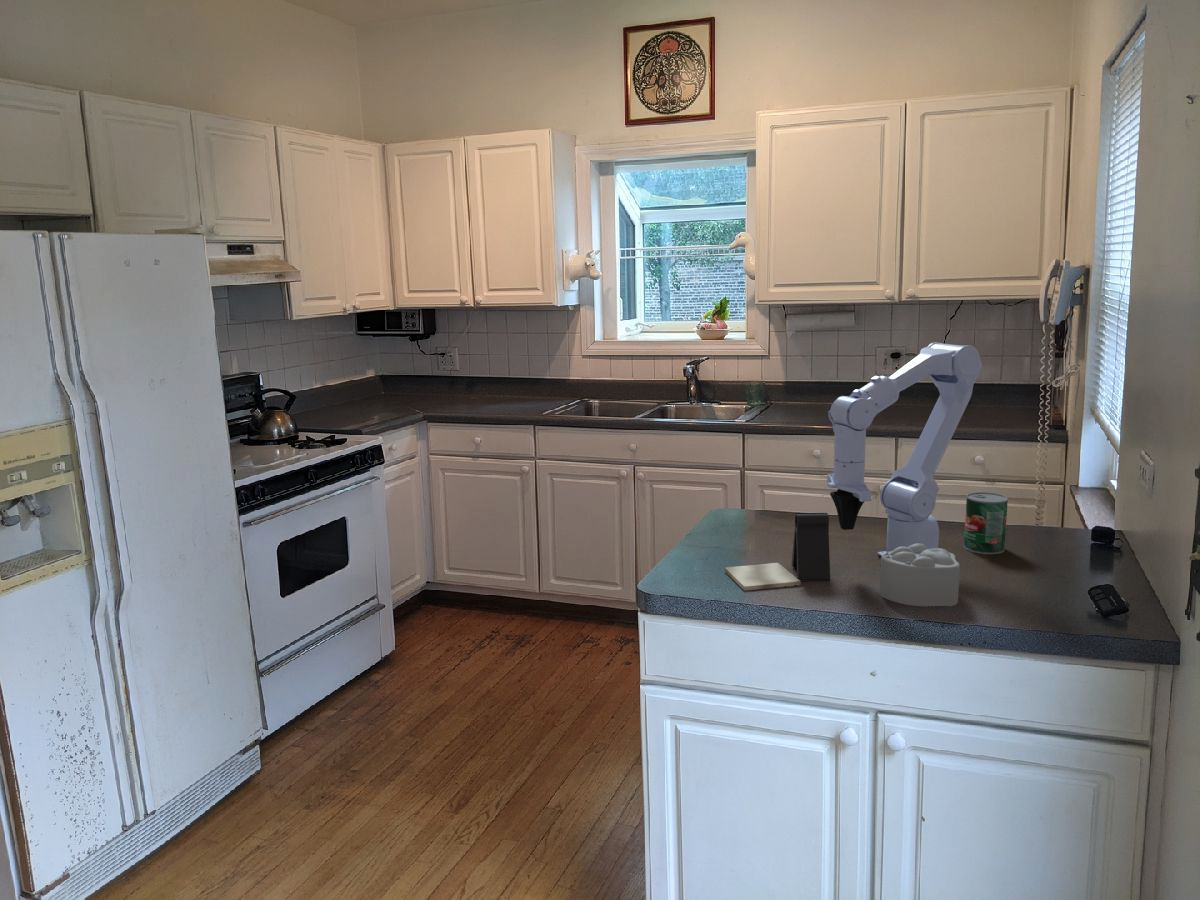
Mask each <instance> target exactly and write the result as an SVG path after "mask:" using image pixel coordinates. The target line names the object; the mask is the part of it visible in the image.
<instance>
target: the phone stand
mask: <svg viewBox="0 0 1200 900" xmlns="http://www.w3.org/2000/svg"><path fill="white" fill-rule="evenodd" d="M829 517H830V515H829V514H828V512H795V514H794V533H793V543H792V544H793V545H792V557H791V568H792V567H793V568H792V570H793V569H794V570H793V573H794V574H796V575H795V577H796V576H797V577H796V578H798V580H800V582H820V581H821V582H823V581H824V582H828V581H829V582H830V581H831V563H830V561H831V559H830V534H829V533H830V532H829V530H830V529H829V527H830V518H829Z"/></svg>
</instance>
